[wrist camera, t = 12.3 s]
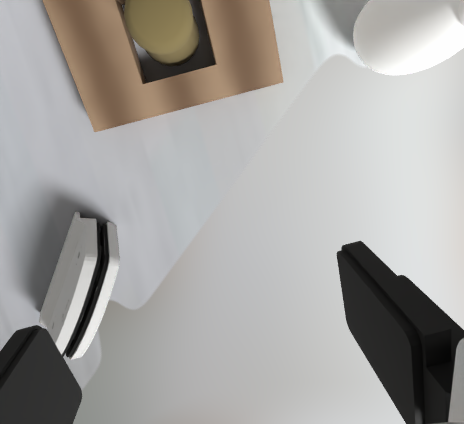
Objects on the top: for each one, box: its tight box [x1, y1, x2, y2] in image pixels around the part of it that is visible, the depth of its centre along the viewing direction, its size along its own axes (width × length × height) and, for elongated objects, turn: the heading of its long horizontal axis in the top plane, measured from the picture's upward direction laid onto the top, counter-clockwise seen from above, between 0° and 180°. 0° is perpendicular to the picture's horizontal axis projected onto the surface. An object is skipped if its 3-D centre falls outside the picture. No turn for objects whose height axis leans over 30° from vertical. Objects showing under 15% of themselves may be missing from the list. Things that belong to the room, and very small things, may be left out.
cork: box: [124, 0, 200, 66], centre depth 29 cm, size 6×6×11 cm
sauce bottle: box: [353, 0, 464, 75], centre depth 28 cm, size 8×8×18 cm
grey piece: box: [39, 212, 120, 359], centre depth 40 cm, size 17×5×10 cm, turn 154°
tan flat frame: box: [43, 0, 283, 132], centre depth 33 cm, size 20×14×3 cm
